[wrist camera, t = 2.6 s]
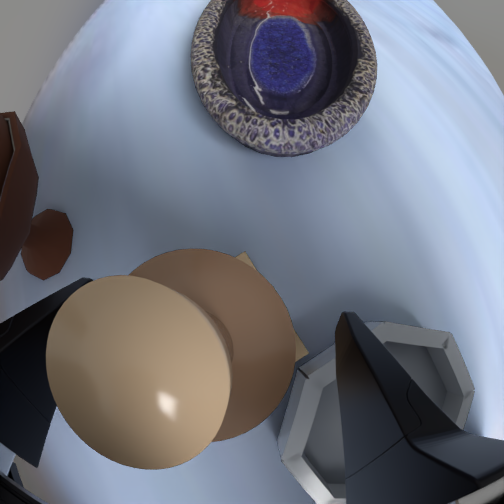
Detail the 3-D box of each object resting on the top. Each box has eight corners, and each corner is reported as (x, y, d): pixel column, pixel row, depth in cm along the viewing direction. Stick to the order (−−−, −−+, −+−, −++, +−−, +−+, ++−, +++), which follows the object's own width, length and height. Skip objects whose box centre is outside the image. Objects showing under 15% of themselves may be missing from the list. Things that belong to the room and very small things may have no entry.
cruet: (289, 349, 16) (413, 433, 3) (209, 395, 15) (109, 551, 2) (240, 269, 17) (206, 112, 4) (161, 316, 16) (-32, 288, 3)
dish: (160, 172, 19) (137, 131, 14) (230, -9, 26) (228, -37, 21) (379, 196, 19) (412, 161, 14) (344, 3, 26) (350, -24, 21)
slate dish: (463, 414, 14) (485, 422, 12) (335, 513, 13) (345, 533, 10) (403, 290, 17) (426, 284, 14) (246, 398, 15) (245, 412, 13)
